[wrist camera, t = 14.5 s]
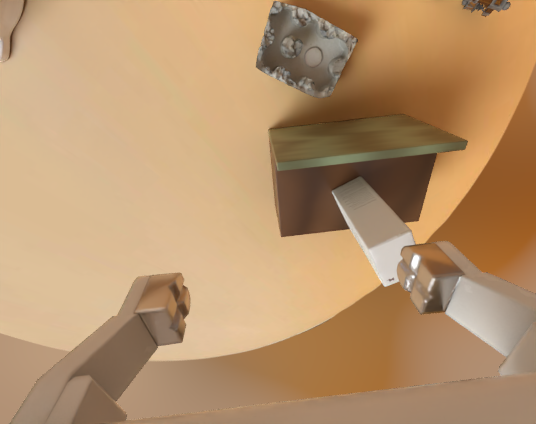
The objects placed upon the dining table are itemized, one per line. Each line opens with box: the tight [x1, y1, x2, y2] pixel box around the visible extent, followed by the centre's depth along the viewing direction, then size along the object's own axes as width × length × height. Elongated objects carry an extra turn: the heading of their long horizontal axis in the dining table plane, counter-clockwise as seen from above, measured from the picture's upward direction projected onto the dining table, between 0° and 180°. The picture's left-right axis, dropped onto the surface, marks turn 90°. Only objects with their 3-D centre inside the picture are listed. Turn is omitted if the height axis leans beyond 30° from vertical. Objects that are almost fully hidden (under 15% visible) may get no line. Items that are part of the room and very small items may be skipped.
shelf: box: [268, 114, 468, 237], centre depth 35 cm, size 20×13×13 cm, turn 96°
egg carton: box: [256, 1, 358, 98], centre depth 31 cm, size 11×8×4 cm
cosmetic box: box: [332, 177, 416, 286], centre depth 29 cm, size 6×4×12 cm
